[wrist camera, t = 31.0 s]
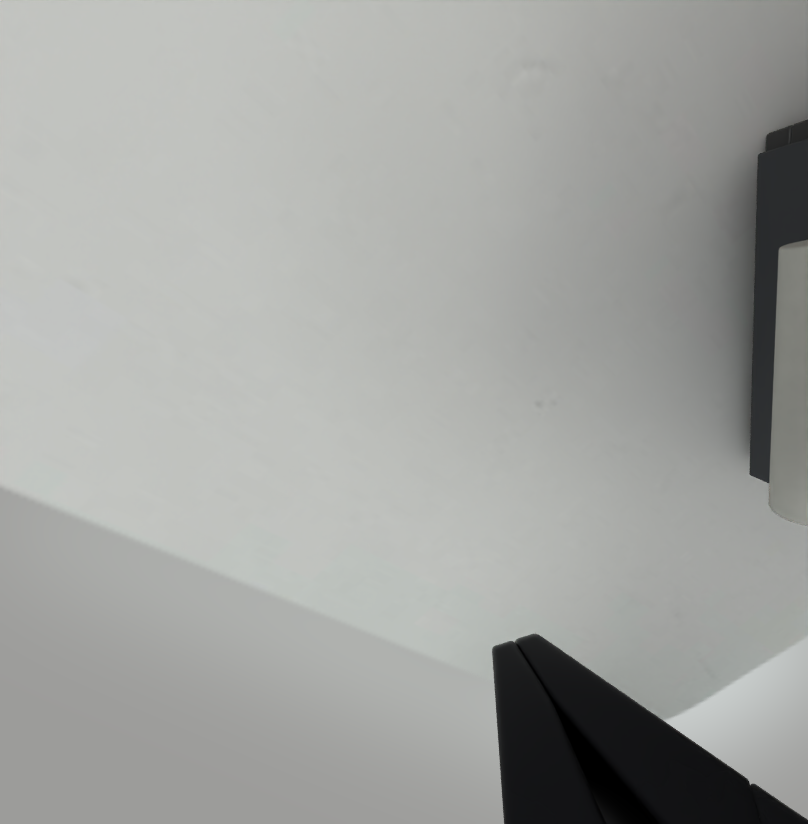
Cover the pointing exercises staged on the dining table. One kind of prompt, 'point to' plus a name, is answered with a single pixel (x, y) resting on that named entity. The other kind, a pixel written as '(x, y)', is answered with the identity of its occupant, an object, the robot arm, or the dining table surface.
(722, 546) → the dining table surface
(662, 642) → the dining table surface
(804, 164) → the drawer
